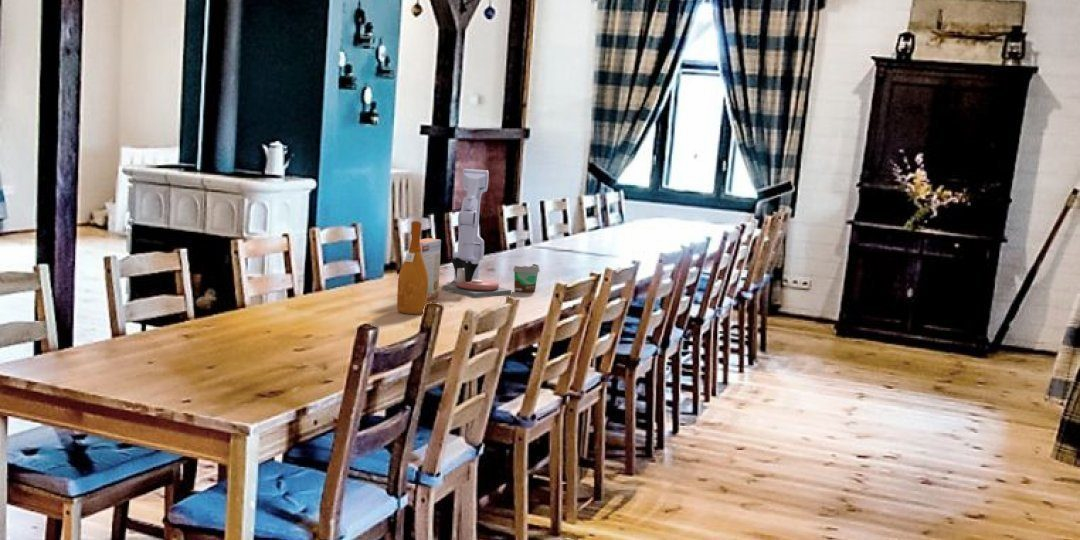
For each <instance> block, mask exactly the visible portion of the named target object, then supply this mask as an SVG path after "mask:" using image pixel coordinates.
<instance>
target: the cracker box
mask: <svg viewBox="0 0 1080 540" xmlns="http://www.w3.org/2000/svg"><path fill="white" fill-rule="evenodd" d="M441 244H442V240H441V239H439V238H438V239H437V238H431V237H427V238H422V239H421V238H420V248H421V254H422V257H423V260H424V263H425V265H426V269H427V273H428V295H427V301H429V300H433V299H437V298H439V291H440V290H439V288H440V287H439V286H440V271H441V270H440V268H441V247H442V245H441ZM410 245H411V241H409V242H408V249H409V248H410Z"/></svg>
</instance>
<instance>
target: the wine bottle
mask: <svg viewBox="0 0 1080 540" xmlns="http://www.w3.org/2000/svg"><path fill="white" fill-rule="evenodd" d="M410 226H411V231H410V235H411V241H410V242H411V245H410V248H409V247H408V251H407V252H406V254H405V256H404V261H403V263H402V265H401V267H400V270H399V274H398V280H397V297H396V302H397V303H396V306H397V307H396V308H397V311H398V312H399V313H400V314H401V313H402V314H406V315H422V314H423V313H422V312H423V309H424V306H425V304H426V303H427V302H428V300H427V295H428V273H427V269H426V265H425V263H424V260H423V257H422V254H421V248H420V240H421V238H420V237H421V235H422V222H420V221H418V220H413V221H411V223H410Z"/></svg>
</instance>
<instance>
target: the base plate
mask: <svg viewBox="0 0 1080 540" xmlns="http://www.w3.org/2000/svg"><path fill="white" fill-rule="evenodd" d="M442 290H444V291H447V292H452V293H456V294H461V295H463V296H468V297H471V298H475V299H476V298H485V297H495V296H505V295H507V294H508V295H512V289H509V288H505V287H504V288H503V287H500V286H499V288H498V289H495V290H471V289H464V288H460V287H457V286H456V283H453V284H452V283H450V284H443V285H442ZM508 295H507V296H508Z"/></svg>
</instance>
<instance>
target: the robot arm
mask: <svg viewBox="0 0 1080 540" xmlns="http://www.w3.org/2000/svg"><path fill="white" fill-rule="evenodd" d="M489 175H490V174H489V170H488V169H486V170H485V169H472V168H464V169H463V170H462V175H461V184H462V187H463V190H464V191H466V196H465V197H463V199H462V203H461V209H460V211H459V212H458V216H457V224H458V228H457V229H458V240H457V241H458V242H457V251H454V252H452V259H451V260H450V261H451V263H452V265H453V266H452V267H453V268H454V269H453V270H454V274H453V275H454V277H453V279H452V282H455V283H456V280H457V268H464V270H465V282H471V281H472V279H480V278H479V277H480V276H479V275H480V262H481V261H482V260H483V259H484V254H485V240H484V239H483V238H482V237H481V236H479V225H480V224H479V222H480V209H481V208H480V207H481V198H482V195H483V193H485V192H488V188H489V187H488V186H489V181H490V180H489V179H490V178H489V177H490V176H489Z"/></svg>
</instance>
